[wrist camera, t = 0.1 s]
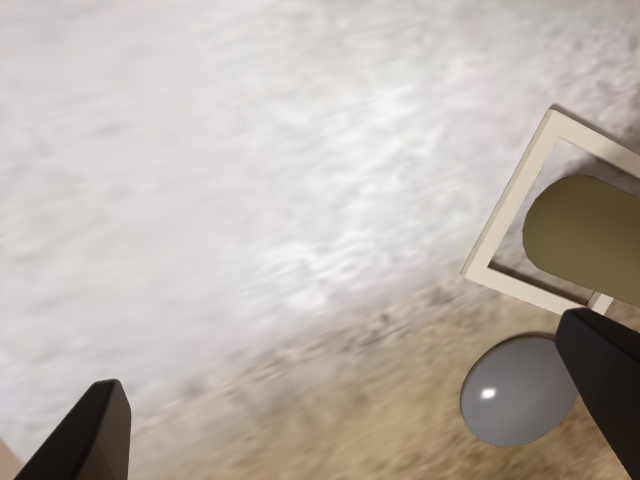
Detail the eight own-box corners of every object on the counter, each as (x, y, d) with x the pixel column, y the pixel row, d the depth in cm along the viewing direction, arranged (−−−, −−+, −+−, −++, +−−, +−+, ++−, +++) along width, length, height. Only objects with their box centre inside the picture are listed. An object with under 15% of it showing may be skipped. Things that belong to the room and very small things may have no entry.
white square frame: (589, 324, 30) (595, 328, 29) (459, 274, 27) (463, 277, 26) (679, 179, 27) (687, 181, 27) (548, 109, 25) (554, 109, 24)
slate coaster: (519, 457, 32) (523, 463, 32) (435, 411, 30) (438, 417, 29) (597, 370, 31) (603, 374, 30) (516, 314, 28) (520, 318, 28)
